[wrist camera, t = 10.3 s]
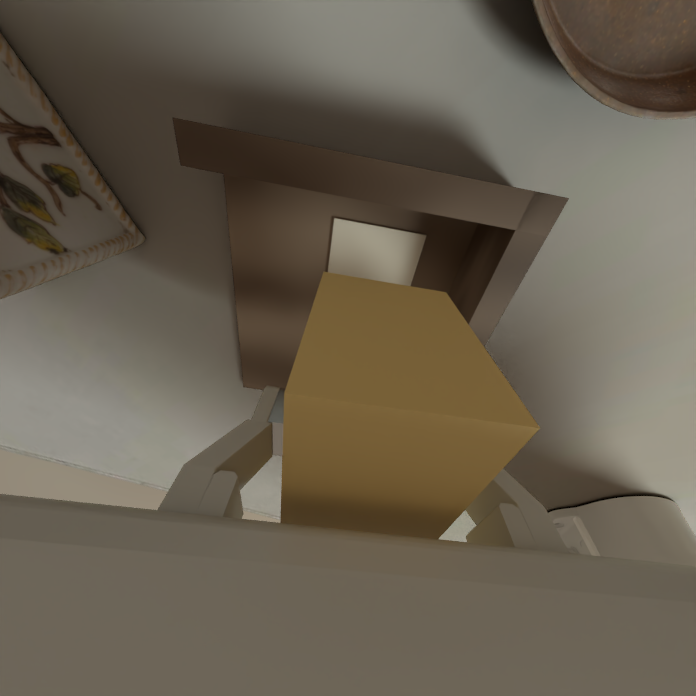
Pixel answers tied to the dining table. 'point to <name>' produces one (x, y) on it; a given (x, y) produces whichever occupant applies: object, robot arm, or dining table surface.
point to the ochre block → (392, 412)
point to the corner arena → (357, 235)
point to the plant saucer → (627, 52)
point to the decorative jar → (49, 191)
